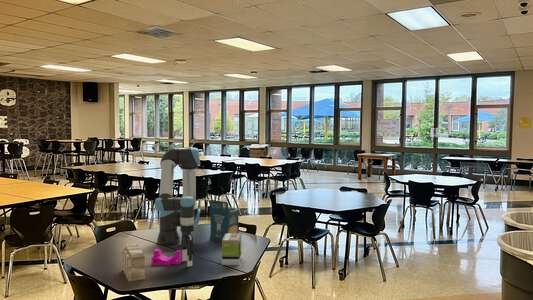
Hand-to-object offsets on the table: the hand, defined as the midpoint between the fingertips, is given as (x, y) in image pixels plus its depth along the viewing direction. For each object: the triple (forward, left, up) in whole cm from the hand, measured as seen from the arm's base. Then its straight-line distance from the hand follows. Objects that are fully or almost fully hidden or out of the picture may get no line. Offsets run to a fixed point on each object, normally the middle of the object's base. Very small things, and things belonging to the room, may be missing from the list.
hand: (187, 263), depth 228 cm
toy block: (-6, -10, -1) cm, 12 cm away
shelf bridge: (+4, -28, 0) cm, 29 cm away
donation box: (-38, +39, -1) cm, 55 cm away
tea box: (+7, +25, -1) cm, 25 cm away
